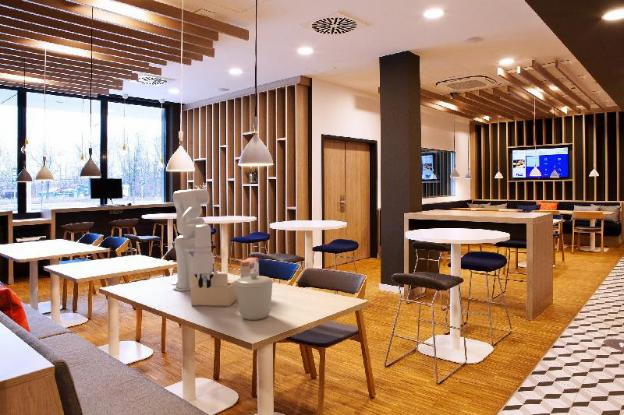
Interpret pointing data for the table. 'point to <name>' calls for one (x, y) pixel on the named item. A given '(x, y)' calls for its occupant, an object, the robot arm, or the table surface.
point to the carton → (214, 295)
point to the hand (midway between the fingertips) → (204, 287)
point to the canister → (254, 296)
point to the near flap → (216, 280)
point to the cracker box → (249, 266)
